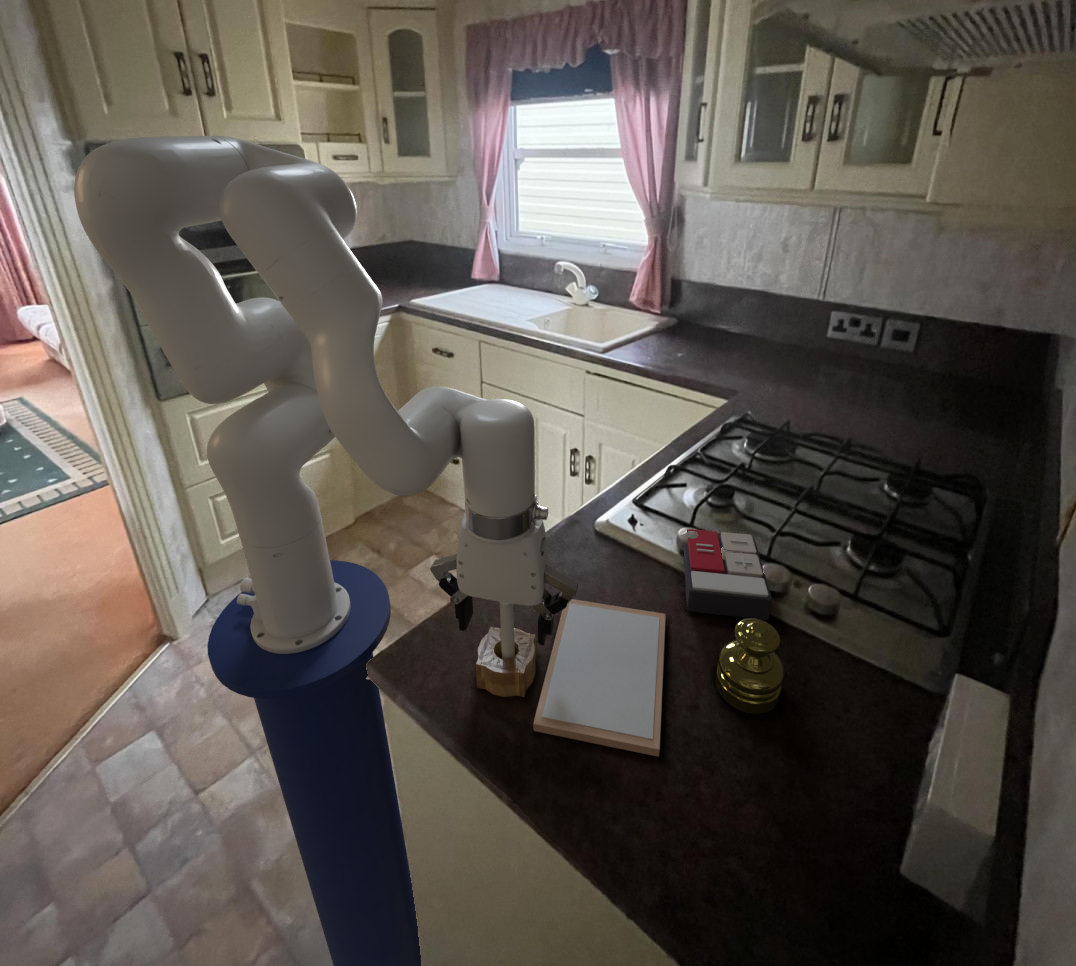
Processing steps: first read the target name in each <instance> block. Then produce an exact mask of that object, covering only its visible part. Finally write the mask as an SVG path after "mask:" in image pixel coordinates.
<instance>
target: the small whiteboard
mask: <svg viewBox="0 0 1076 966" xmlns="http://www.w3.org/2000/svg"><path fill="white" fill-rule="evenodd" d="M665 637H666V613H662V612H657V611H650V610H643V609H637V608H630V607H625V606H618V605H612V604H605V603H598V602H593V601H587V600H579V599H574V598H572V600H571V601H570V602H569V603H568V604H567V607H566V608H565V609H563V610H561V614H560V618H559V622H558V625H557V629H556V634H555V638H554V642H553V645H552V648H551V653H550V657H549V661H548V665H547V668H546V673H545V677H544V681H543V684H542V688H541V692H540V696H539V700H538V703H537V707H536V711H535V716H534V718H533V725H532V727H533V728H532V729H533V732H537V733H542V734H547V735H551V736H555V737H561V738H567V739H571V740H576V741H580V742H585V743H591V744H595V745H600V746H604V747H610V748H615V749H620V750H625V751H630V752H635V753H638V754H643V755H644V754H645V755H648V756H653V757H660V750H661V730H662V729H661V727H662V705H663V685H664V680H663V679H664V664H665V663H664V661H665V641H666V640H665V639H666V638H665Z"/></svg>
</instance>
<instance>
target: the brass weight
mask: <svg viewBox="0 0 1076 966" xmlns="http://www.w3.org/2000/svg"><path fill="white" fill-rule="evenodd" d="M733 633H734V637H735V639H733V640H730V641H728V642H726V643H725V644H724V645H723V646H722V647H721V649H720V650H719V654H718V663H717V665H716V666H717V667H716V675H715V686H716V689H717V691H718V693H719V695H720V696H721V698H722V699H723V700H724V701H725V702H726V703H727V704H728V705H729V706H731V707H732V708H734V709H736V710H738V711H740V712H742V713H746V714H751V715H761V714H766V713H768V712H770V711H772V710H773V709H774V708H775V707H776V706H777V704H778V702H779V700H780V699H779V698H780V695H781V692H782V688H783V682H784V680H785V675H786V672H785V666H784V664H783V661H782V660H781V658H780V656H779V655H778V654H777V653H776V651H777V650H778V649H779V647H780V645H781V637H780V634H779V632H778V630H777V629H776V628H775V627H774V626H773V625H772V624H770V623H769V622H768V621H766V620H762V619H755V618H743V619H741V620H739V621H738V622H737V623H736V624H735V627H734V632H733Z"/></svg>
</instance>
